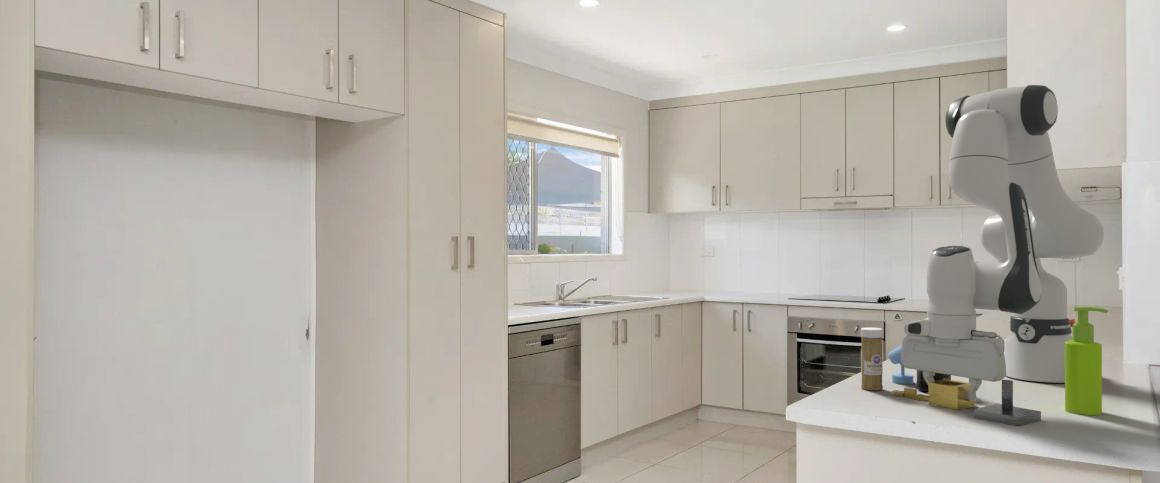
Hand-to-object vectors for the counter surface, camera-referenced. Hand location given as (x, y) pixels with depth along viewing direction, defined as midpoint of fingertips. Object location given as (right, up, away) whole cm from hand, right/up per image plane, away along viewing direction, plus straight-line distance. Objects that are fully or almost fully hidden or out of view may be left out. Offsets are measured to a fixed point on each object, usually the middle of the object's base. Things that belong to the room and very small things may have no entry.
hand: (951, 397), depth 153 cm
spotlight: (0, -2, +23) cm, 23 cm away
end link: (0, -2, 0) cm, 2 cm away
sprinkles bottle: (-10, -2, +16) cm, 19 cm away
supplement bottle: (+3, -2, +14) cm, 14 cm away
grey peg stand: (+5, -2, -11) cm, 12 cm away
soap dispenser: (+22, -2, -7) cm, 23 cm away
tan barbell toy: (-5, -2, +7) cm, 9 cm away
